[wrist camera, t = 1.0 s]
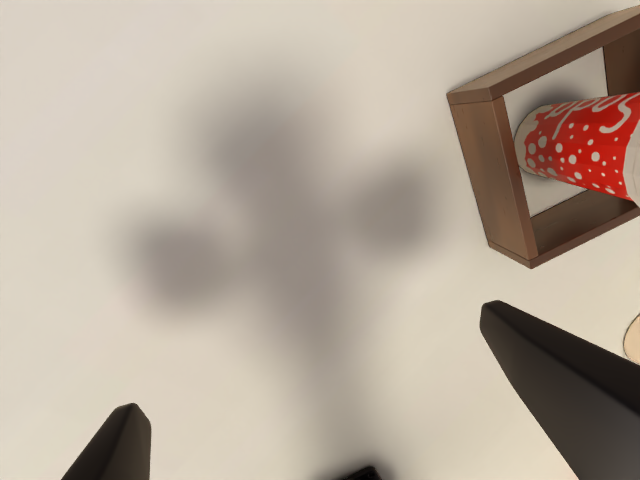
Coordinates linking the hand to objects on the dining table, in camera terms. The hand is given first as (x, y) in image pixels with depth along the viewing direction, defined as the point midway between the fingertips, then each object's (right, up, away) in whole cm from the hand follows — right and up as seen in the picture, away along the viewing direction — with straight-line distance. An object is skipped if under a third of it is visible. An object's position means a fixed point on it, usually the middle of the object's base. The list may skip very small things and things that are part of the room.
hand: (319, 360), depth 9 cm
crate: (+15, +10, +15) cm, 23 cm away
